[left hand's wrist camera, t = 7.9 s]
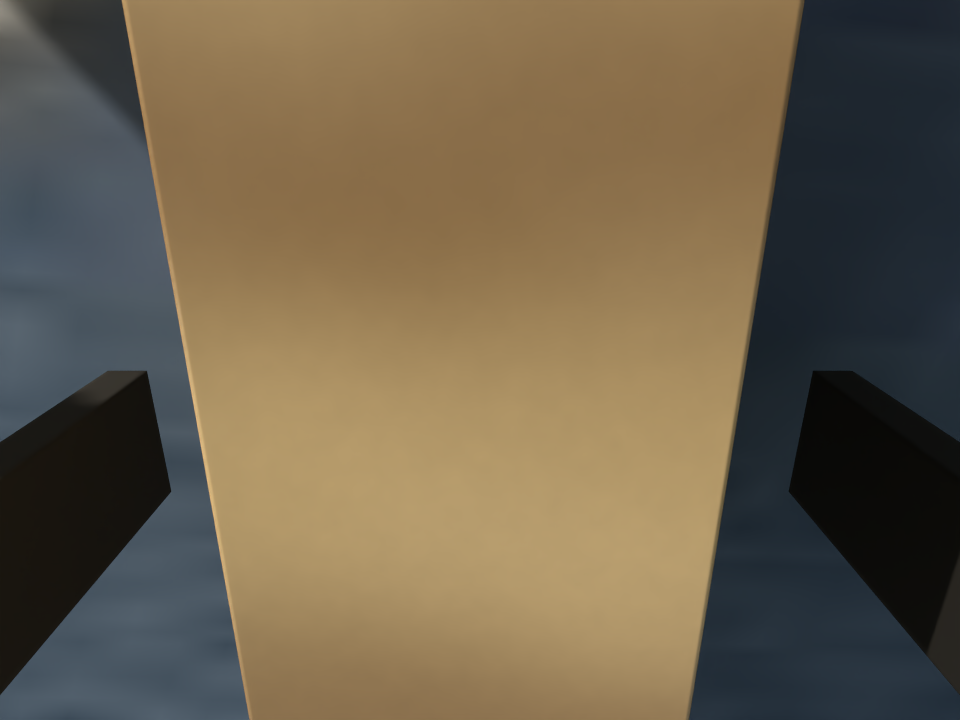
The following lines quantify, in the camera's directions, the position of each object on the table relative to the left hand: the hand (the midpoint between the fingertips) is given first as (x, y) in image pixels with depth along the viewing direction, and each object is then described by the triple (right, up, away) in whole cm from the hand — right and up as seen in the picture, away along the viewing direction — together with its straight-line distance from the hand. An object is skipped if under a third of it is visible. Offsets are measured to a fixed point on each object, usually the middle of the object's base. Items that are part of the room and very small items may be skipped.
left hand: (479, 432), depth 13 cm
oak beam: (0, +11, -2) cm, 11 cm away
